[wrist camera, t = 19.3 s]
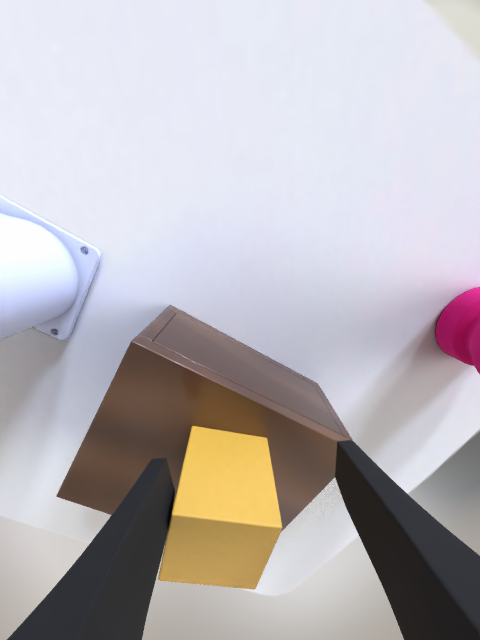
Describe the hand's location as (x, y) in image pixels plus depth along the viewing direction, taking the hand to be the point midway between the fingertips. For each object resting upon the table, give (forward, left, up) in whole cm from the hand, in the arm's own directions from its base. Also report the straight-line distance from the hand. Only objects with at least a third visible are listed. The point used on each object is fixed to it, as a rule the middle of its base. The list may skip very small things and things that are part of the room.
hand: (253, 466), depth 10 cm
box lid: (0, -5, -4) cm, 6 cm away
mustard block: (0, -4, -3) cm, 5 cm away
